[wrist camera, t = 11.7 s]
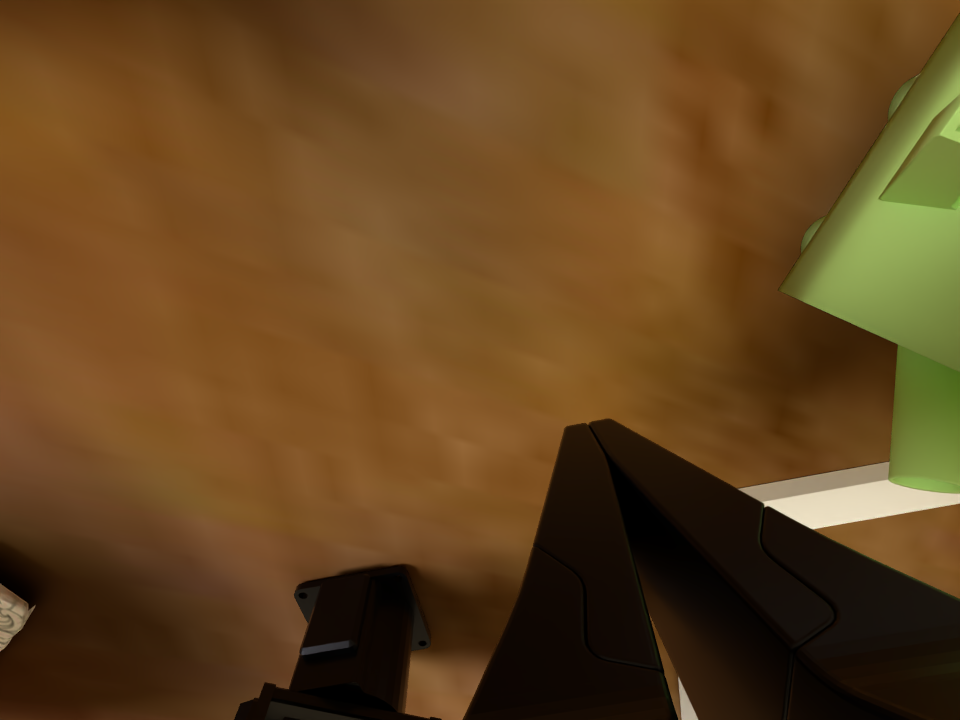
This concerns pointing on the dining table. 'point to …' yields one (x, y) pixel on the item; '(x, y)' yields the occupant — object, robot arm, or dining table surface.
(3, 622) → the cookie jar
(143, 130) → the dining table surface
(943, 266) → the kettle
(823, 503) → the kettle dock outline
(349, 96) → the dining table surface
